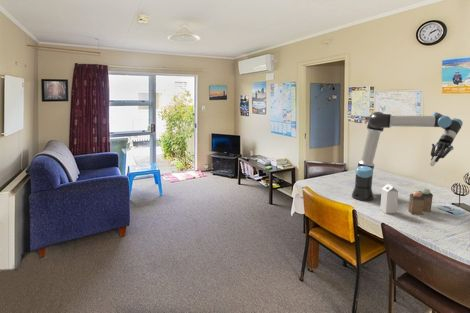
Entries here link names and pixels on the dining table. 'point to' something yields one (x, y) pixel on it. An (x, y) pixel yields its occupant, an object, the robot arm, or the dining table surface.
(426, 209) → the rear pedestal
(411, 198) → the front pedestal
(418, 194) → the terracotta button
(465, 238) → the dining table surface
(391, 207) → the milk carton
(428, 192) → the sage button
